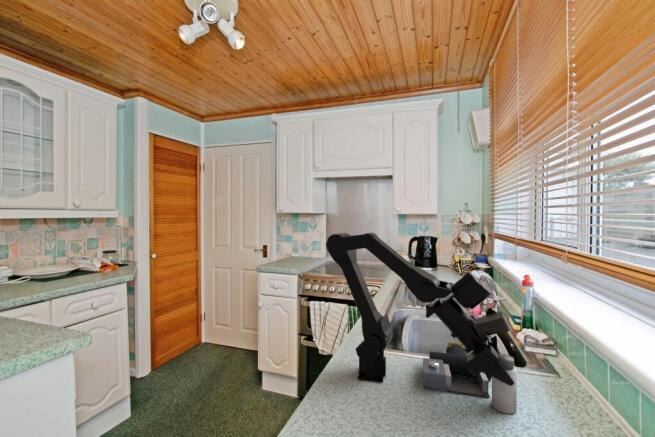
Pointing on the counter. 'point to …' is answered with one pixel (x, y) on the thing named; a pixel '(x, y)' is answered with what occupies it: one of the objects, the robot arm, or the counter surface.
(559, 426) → the counter surface
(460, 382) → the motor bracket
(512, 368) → the grey domed cylinder
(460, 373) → the pipe connector
